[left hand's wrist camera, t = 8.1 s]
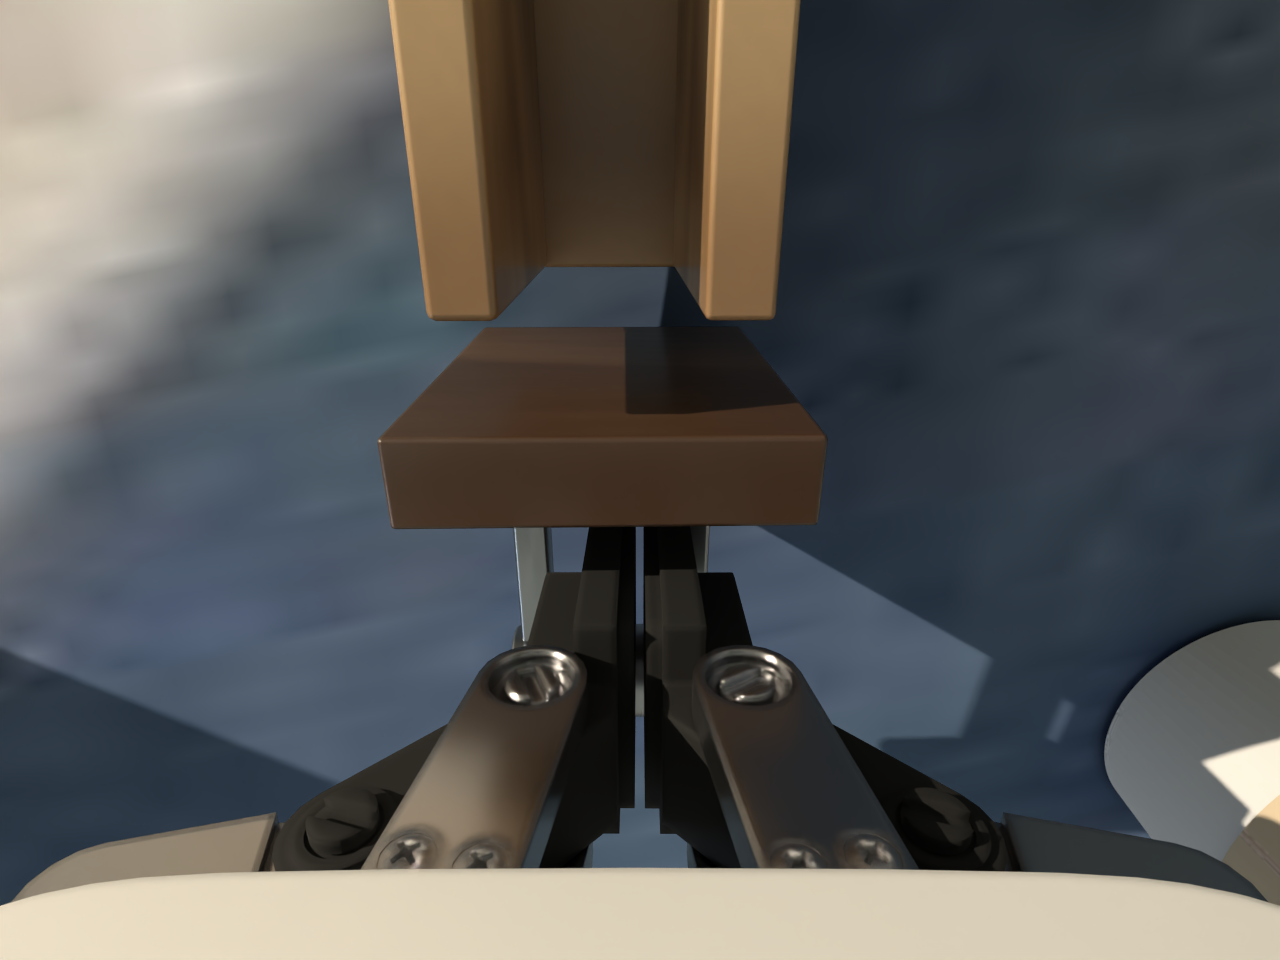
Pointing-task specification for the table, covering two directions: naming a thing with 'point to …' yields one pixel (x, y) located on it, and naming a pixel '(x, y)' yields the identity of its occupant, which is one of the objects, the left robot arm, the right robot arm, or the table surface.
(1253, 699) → the coffee cup
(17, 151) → the table surface
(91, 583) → the table surface
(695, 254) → the drawer
